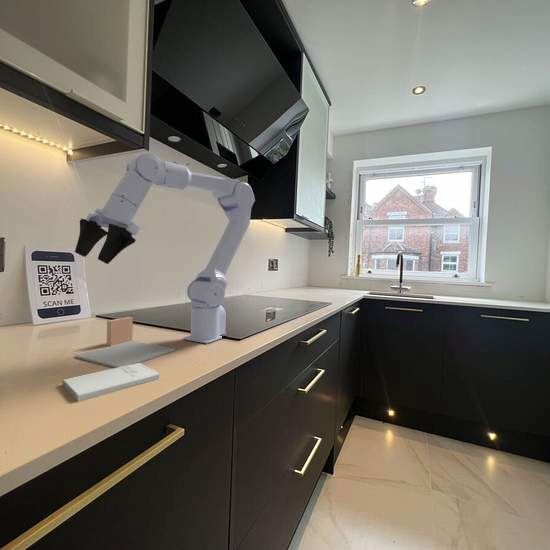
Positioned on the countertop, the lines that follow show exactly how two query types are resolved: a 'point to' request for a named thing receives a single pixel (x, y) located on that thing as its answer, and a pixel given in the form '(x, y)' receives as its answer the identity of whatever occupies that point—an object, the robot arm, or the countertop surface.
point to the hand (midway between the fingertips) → (90, 258)
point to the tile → (119, 331)
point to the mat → (125, 354)
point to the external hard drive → (108, 381)
